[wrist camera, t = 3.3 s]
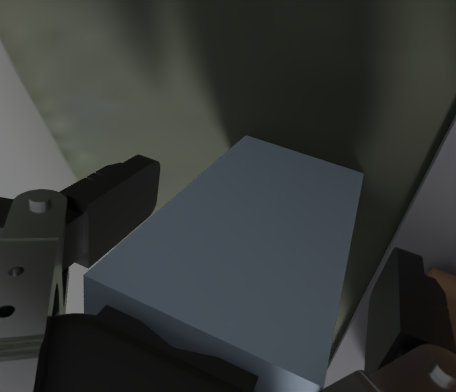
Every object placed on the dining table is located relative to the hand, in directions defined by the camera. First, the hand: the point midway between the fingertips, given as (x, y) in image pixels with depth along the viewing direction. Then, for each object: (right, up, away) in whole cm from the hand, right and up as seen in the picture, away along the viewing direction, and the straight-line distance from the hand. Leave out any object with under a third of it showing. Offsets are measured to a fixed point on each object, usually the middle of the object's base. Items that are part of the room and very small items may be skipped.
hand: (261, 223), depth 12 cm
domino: (+2, +2, +3) cm, 4 cm away
